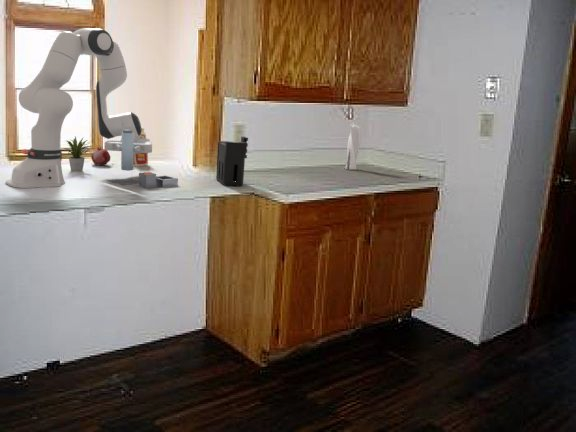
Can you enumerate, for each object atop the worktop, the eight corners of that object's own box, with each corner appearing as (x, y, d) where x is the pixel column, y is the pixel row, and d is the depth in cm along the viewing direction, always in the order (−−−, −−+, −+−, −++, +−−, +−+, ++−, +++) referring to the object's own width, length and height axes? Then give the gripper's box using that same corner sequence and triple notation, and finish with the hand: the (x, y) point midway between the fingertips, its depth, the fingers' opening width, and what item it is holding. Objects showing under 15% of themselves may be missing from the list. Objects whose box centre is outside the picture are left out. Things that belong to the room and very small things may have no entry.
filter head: (148, 191, 246) (149, 175, 245) (134, 187, 252) (134, 171, 251) (178, 187, 258) (179, 173, 257) (164, 183, 264) (164, 169, 263)
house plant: (82, 175, 269) (82, 139, 265) (54, 171, 271) (54, 136, 267) (97, 170, 282) (97, 136, 279) (70, 167, 284) (70, 133, 281)
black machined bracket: (224, 186, 270) (227, 138, 265) (213, 178, 288) (216, 133, 283) (249, 187, 274) (252, 139, 269) (236, 178, 293) (239, 134, 288)
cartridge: (125, 170, 253) (126, 131, 249) (118, 168, 256) (119, 129, 252) (135, 169, 257) (136, 130, 252) (128, 168, 260) (129, 129, 256)
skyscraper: (341, 167, 360) (346, 121, 354) (353, 168, 363) (358, 122, 356) (346, 170, 352) (352, 122, 346) (359, 170, 355) (364, 123, 348)
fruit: (109, 163, 304) (109, 144, 302) (111, 166, 296) (111, 147, 294) (90, 163, 301) (90, 143, 299) (91, 166, 292) (92, 146, 290)
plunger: (146, 178, 248) (146, 173, 248) (142, 176, 250) (142, 172, 250) (152, 177, 251) (153, 172, 250) (148, 176, 253) (148, 171, 252)
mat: (122, 187, 249) (122, 185, 249) (106, 182, 256) (106, 180, 256) (146, 185, 258) (146, 182, 258) (129, 180, 266) (129, 178, 265)
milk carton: (135, 166, 304) (136, 127, 300) (124, 163, 309) (125, 124, 305) (149, 164, 311) (150, 126, 307) (138, 162, 317) (139, 124, 312)
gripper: (106, 136, 264) (102, 140, 250) (153, 139, 267) (151, 143, 254) (106, 150, 265) (102, 155, 252) (152, 152, 269) (151, 157, 256)
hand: (127, 149), depth 253 cm, fingers closed on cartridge, 5 cm apart
